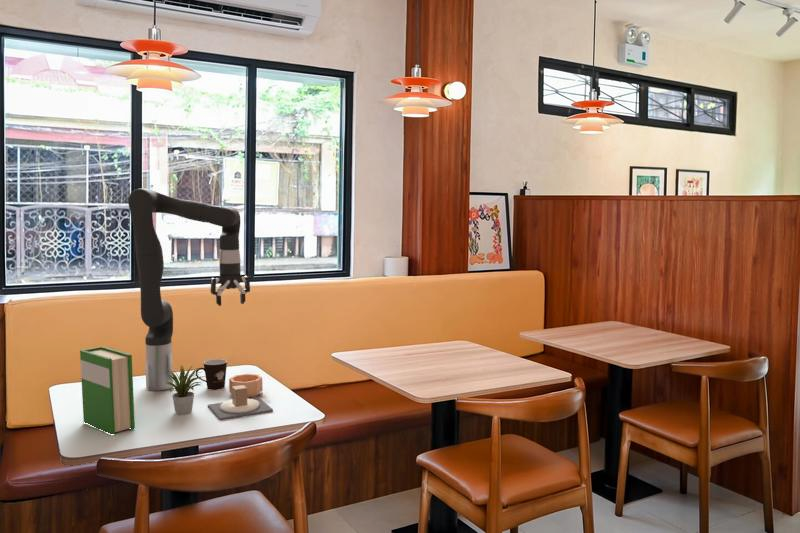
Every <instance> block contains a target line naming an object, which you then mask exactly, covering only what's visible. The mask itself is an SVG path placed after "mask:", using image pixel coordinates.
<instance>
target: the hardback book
mask: <svg viewBox="0 0 800 533" xmlns="http://www.w3.org/2000/svg"><path fill="white" fill-rule="evenodd" d="M79 355H80V356H79V359H80V372H81V374H80V379H81V393H82V394H81V396H82V399H81V400H82V412H83V413H82V414H83V418H82V419H83V423H84V422H85V423H88V424H90V425H92V426H94V427H96V428H98V429H101V430H103V431H105V432H108V433H110V434H115V435H116V433H119V432H122V431H124V430H130V429H129V428H131V429H134V428H135V429H136V426H135V425H136V423H135V405H134V404H135V403H134V402H135V401H134V381H133V380H134V379H133V377H134V375H133V356H132V354H131V353H127V352H124V351H121V350H116V349H113V348H110V347H106V346H104V345H102V346H98V347H97V346H96V347H91V348H87V349H81V350H79Z"/></svg>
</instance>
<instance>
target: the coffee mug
mask: <svg viewBox="0 0 800 533" xmlns="http://www.w3.org/2000/svg"><path fill="white" fill-rule="evenodd" d="M227 365H228V360H226V359H223V358H213V359H208V360H207V359H206V360H204V362H203V367H198V368H199V369H198V370H196V369H195V370H196V372H195V374H196V373H199V371H200V370H202V371H203V372H204V374H205V375H204V376H206V377H205V379H203V378H202V377H201V378H199V379H198V380H200V381H201V382H205V383H206V387H207V388H206V389H207V390H210V391H216V390H217V391H219V390H222V389H225V386H226V377H227V376H226V375H227ZM196 375H197V376H196V377H200V375H198V374H196Z"/></svg>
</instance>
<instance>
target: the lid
mask: <svg viewBox="0 0 800 533" xmlns="http://www.w3.org/2000/svg"><path fill="white" fill-rule="evenodd" d="M231 395H232V396H231V398H232V399H228V400H226V401H224V402H223V403H222V402H221V403H222V404H221V405H220V409H221V410H222V411H223V412H227V413H246V412H250V411H253V410H256V409H257V408H259V401H257V400H254V399H248V398H247V387H245V386H244V385H240V386H233V387H232V394H231Z"/></svg>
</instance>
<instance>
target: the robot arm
mask: <svg viewBox="0 0 800 533" xmlns="http://www.w3.org/2000/svg"><path fill="white" fill-rule="evenodd" d="M128 208H129V212H130V216H131V221H132V226H133V234H134V236H133V237H134V244H135V246H134V247H135V256H136V263H137V265H136V266H137V272H138V282H139V289H140V316H141V317H140V318H141V320H142V322H143V324H145V326H147V327H148V330H147V331H148V332H147V334H146V336H145V340H144V341H145V342H144V343H145V360H146V362H145V387H146V389H147V390H148V391H149V392H150V391H155V392H156V391H158V392H159V391H165V390H169V389H170V387H172V388H174V387H173V386H172V385H169V384H165V383H167V382H172V383H173V384H174V382H173V381H174V380H173V379H172V378H171V377H170V376H172V373H171V372H170V371H173V353H172V349H173V348H172V345H173V344H172V338H173V334H174V312H173V308H172V305H171V304H170V303H169V302H168V301H166V300H163V299H162V295H161V285H162V278H163V273H164V267H165V264H164V263H165V262H164V254H163V253H164V252H163V248H162V244H161V241H160V239H159V237H158V235H157V232H156V230H155V227H154V226H155V225H154V216H153V213H160V214H169V215H174V216H177V217H181V218H184V219H188V220H190V221H197V222H202V223H209V224H211V225H214V226H217V227H221V234H220V236H219V256H218V258H219V261H218V262H219V277H216V278H215V277H211V279H210V293H211V295H214V296H215V300H216V302H215V303H216V304H217V305H218V307H221V306H222V296H221V295H222V293H223V292H224V291H225V290H226V289H227V290H230V289H234V290H235V289H237V290H238V291H239V294H240V295H239V298H240V304H241V305H244V304H245V302H246V294H247V293H250V292H251V284H250V276H248V275H244V276H242V275H241V254H240V237H239V236H240V232H241V231H240V229H241V215H240V212H239V211H238V210H237V209H236V208H233V207H221V206H216V205H212V204H209V203H206V202H201V201H195V200H190V199H184V198H177V197H173V196H168V195H165V194H163V193H160V192H157V191H154V190H152V189H151V188H136V189H133V190H132V191H131V192H130V193H129V195H128ZM218 282H219V283H220V286H218V288H217V285H218ZM242 282H244V288H243V287H242V285H241V284H240V283H242ZM216 288H217V290H216ZM168 373H169V374H168ZM170 374H171V375H170ZM166 375H170V376H169V377H170V378H171V379H172V380H173V381H172V380H171V379H170V378H169V377H168V376H166Z"/></svg>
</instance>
